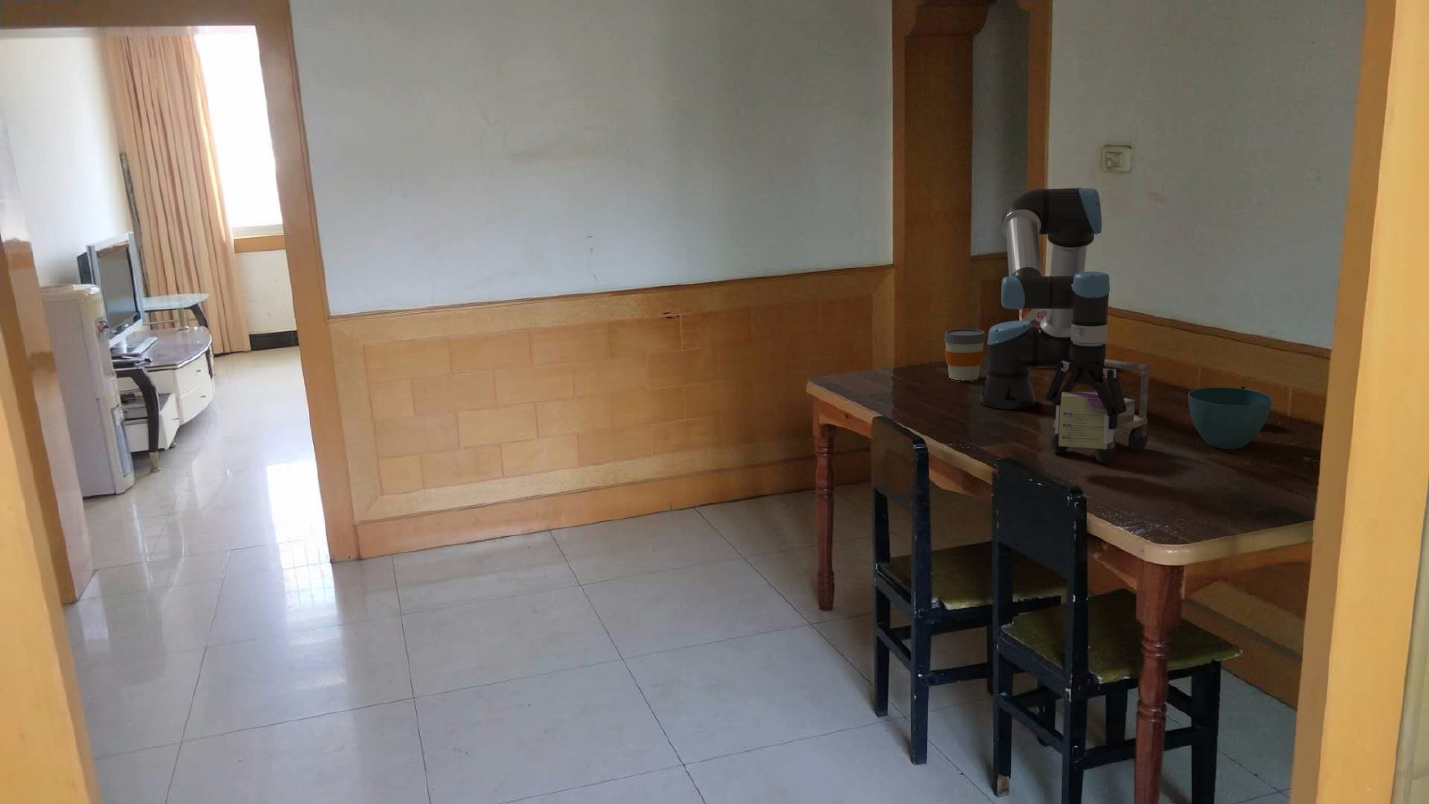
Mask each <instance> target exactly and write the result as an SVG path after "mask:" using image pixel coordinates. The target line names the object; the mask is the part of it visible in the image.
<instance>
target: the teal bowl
mask: <svg viewBox="0 0 1429 804" xmlns="http://www.w3.org/2000/svg"><path fill="white" fill-rule="evenodd" d="M1187 402H1188V403H1187V405H1188V411H1189V413H1190V414H1189V415H1190V418H1191V421H1192V423H1193V425H1194V428H1195V429H1196V431H1197V432H1198V434H1199V435H1200V437H1201V438H1202V439H1203V440H1204V442H1205V443H1206V444H1207V445H1208V446H1210V447H1213V448H1217V449H1224V450H1235V449H1237V448H1239V449H1242V448H1244V447H1246V446H1247V445H1249V443H1250V442H1251V441H1253V439H1255V437H1256V436H1257V435H1258V434H1259V433H1260V431H1261V430H1262V428H1263V427H1264V425H1265V423H1266V421H1267V419H1268V417H1269V414H1270V412H1271V407H1272V404H1273V403H1272V402H1273V397H1272V396H1271V395H1269V394H1267V393H1264V392H1263V391H1262V392H1261V391H1258V390H1254V389H1247V388H1245V389H1242V388H1241V387H1229V386H1223V387H1222V386H1210V387H1202V388H1195V389H1192V390H1190V391H1189V392H1188V393H1187ZM1237 450H1238V449H1237Z"/></svg>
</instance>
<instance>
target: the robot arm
mask: <svg viewBox="0 0 1429 804" xmlns="http://www.w3.org/2000/svg"><path fill="white" fill-rule="evenodd" d="M1100 198H1101V197H1100V194H1099V192H1098V190H1097V189H1095V188H1092V187H1090V188H1089V187H1082V186H1079V187H1077V188H1076V187H1075V188H1073V187H1068V188H1065V187H1064V188H1035V189H1029V190H1028V191H1026V192H1023V193H1022V194H1020V195H1019V196H1017V197H1015V199H1013V200H1012V201H1011V202H1010V204H1009V205H1008V206H1007V207H1006V209H1005V210H1004V212H1003V215H1002V217H1001V232H1002V235H1003V237H1004V238H1005V240H1006V248H1007V264H1008V265H1007V266H1008V267H1007V268H1008V276H1005V277H1003V278H1002V280H1001V290H1000V291H1001V293H1000V294H1001V298H1000V299H1001V306H1002V307H1003V308H1004V309H1009V310H1010V309H1011V310H1018V311H1020V310H1021V309H1047V316H1046V317H1044V318H1043V319H1042V320H1041V323H1040V327H1032V324H1031V322H1029V321H1019V320H1011V321H1006V322H1000V323H997V324H995V325H993V326H991V327H990V328H989V331H988V337H987V338H988V339H987V342H986V343H987V345H988V346H987V367H986V368H987V372H986V373H987V374H986V378H985V381H984V384H983V387H982V390H981V392H980V395H979V397H980V400H979V402H981V403H982V404H984V405H986V406H985V407H987V406H989V407H988V408H993V409H998V408H1000V409H1001V410H1019V409H1027V408H1028V409H1029V408H1031V407H1033V406H1035V404H1036V403H1035V402H1036V396H1035V393H1034V389H1033V386H1032V383H1031V379H1030V369H1056V372H1055V375H1054V376H1053V378H1052V381H1051V384H1050V386H1049V388H1048V391H1047V393H1046V396H1045V400H1046V401H1049V402H1051V403H1052V405H1053V406H1052V409H1053V411H1052V416H1053V418H1054V419H1055V420H1056V423H1055V433H1057V434H1058V433H1059V428H1060V409H1061V397H1062V392H1069V391H1071V392H1073V389H1075V387H1076V386H1077V384H1080V385H1081V384H1084V385H1086V386H1091V387H1092V389H1094V391H1095V390H1096V392H1097V394H1098V396H1099V397H1100V399H1101V401H1102V403H1103V405H1104V407H1105V409H1106V410H1107V412H1108V414H1106V415H1105V418H1104V436H1103V444H1108V443H1111V442H1113V432H1114V429H1116V428H1117V420H1118V414H1121V413H1124V412H1126V411H1127V408H1126V405H1125V401H1124V395H1123V391H1122V388H1121V385H1120V381H1119V370H1118V369H1119V368H1117V367H1113V368H1107V367H1106V366H1105V365H1104V362H1105V359H1107V358H1106V355H1107V345H1106V341H1108V339H1107V338H1108V337H1107V336H1108V313H1109V312H1108V311H1109V301H1110V299H1109V298H1110V291H1111V286H1110V275H1109V274H1108V273H1106V272H1102V271H1085V268H1086V256H1087V249H1088V248H1087V247H1088V246H1089V245H1091V244H1092V243H1093V242H1094V241H1095V235H1100V234H1101V233H1102V229H1103V223H1102V222H1103V220H1102V219H1103V218H1102V206H1101V199H1100ZM1039 235H1043V236H1044V235H1045V236H1046V237H1047V241H1048V242H1049V243H1050V244H1051V245H1052V248H1051V249H1052V251H1051V260H1050V261H1051V262H1050V271H1049V276H1048V275H1045V276H1044V275H1043V270H1042V269H1043V268H1042V261H1041V253H1040V252H1041V251H1040V243H1039V242H1040V241H1039ZM1068 371H1069V372H1070V373H1071V375H1070V376H1069V377H1068V379H1067V380H1066V382H1065V384H1064V385H1063V387H1062V384H1063V383H1064V379H1065V377H1066V375H1067V373H1068ZM1102 376H1104V377H1102ZM1105 379H1106V381H1105ZM1097 382H1099V383H1097ZM1106 384H1107V385H1106ZM1061 387H1062V388H1061ZM981 403H980V404H981ZM982 404H981V405H982ZM984 405H983V406H984Z"/></svg>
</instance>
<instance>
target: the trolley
mask: <svg viewBox="0 0 1429 804" xmlns="http://www.w3.org/2000/svg"><path fill="white" fill-rule="evenodd" d="M1104 365H1105V367H1111V368H1116V369H1125V370H1131V371H1135V372H1136V371H1137V372H1141V376H1140V377H1141V380H1140V393H1139V394H1140V395H1139V407H1138V408H1139V409H1138V410H1139V412H1138V415H1137V414H1135V409H1136V408H1135V406H1136V399H1132V398H1126V397H1125V398H1124V397H1123V398H1124V401H1125V405H1126V408H1127V411H1126V412H1124V413H1121V414H1118V420H1117V428H1116V429H1114V432H1113V442H1111V443H1108V444H1107V449H1096V448H1095V455H1094V456H1095V459H1096V461H1097V462H1098V463H1100V464H1101V463H1102V464H1105V465H1108V464H1110V463H1111V462H1112V461H1113V460H1114V458H1115V455H1116V450H1117V444H1116V441H1115V439H1116V437H1115V436H1117V435H1120V434H1122V433H1126V432H1129V431H1130V432H1129V434H1128V440H1127V443H1128V447H1129V449H1130V450H1132V451H1136V452H1141V451H1143V450H1144V448H1145V447H1146V446H1147V442H1148V441H1149V439H1148V438H1149V432H1148V422H1149V421H1148V418H1149V417H1147V409H1148V398H1149V397H1148V396H1149V381H1150V370H1151V367H1150V365H1147V364H1141V363H1134V362H1126V361H1121V360H1120V361H1119V360H1114V359H1107V358H1105V362H1104ZM1103 376H1104V375H1103ZM1103 376H1102V377H1103ZM1103 378H1104V377H1103ZM1097 383H1099V382H1097ZM1094 393H1097V392H1096V390H1095V389H1094ZM1055 423H1056V419H1055V420H1053V421H1052V434H1051V437H1050V442H1049V443H1050V449H1051V450H1052V451H1053V452H1054V453H1058V454H1063V453H1065V452H1066V451H1067V450H1068V449H1069V447H1067V446H1059V433H1058V434H1057V433H1055Z"/></svg>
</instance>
